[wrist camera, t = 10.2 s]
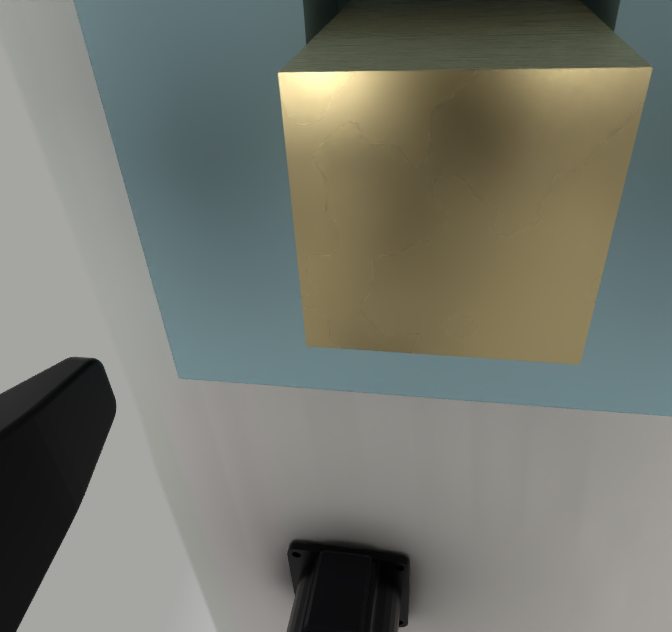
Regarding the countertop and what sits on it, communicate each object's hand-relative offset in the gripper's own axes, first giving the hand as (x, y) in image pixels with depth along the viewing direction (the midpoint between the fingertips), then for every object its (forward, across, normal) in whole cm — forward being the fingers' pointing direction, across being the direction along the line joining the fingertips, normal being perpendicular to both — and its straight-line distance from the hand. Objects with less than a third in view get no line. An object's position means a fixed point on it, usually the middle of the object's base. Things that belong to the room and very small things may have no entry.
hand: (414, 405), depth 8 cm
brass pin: (+11, 0, -2) cm, 11 cm away
